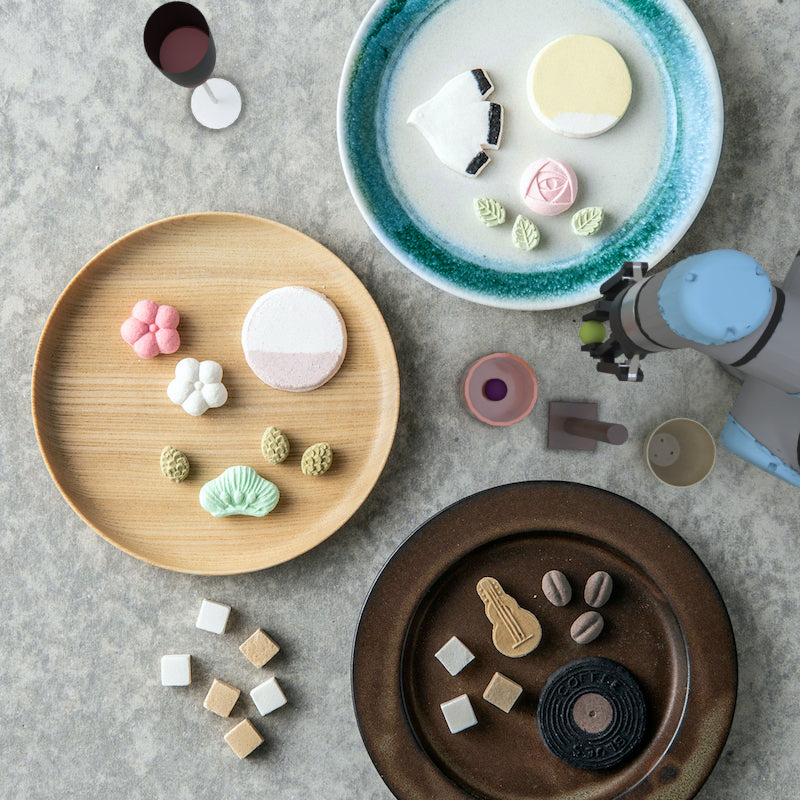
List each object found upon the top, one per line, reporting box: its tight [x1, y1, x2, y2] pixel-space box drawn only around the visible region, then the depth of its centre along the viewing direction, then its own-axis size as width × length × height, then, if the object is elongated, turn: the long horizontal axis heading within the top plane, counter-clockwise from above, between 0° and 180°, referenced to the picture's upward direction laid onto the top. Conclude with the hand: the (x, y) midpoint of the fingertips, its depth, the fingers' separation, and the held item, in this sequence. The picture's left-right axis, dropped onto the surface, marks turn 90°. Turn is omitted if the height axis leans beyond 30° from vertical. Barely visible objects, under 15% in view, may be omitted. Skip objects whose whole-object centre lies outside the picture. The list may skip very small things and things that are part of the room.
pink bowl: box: [458, 352, 539, 427], centre depth 104 cm, size 10×10×8 cm
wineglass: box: [142, 0, 243, 130], centre depth 96 cm, size 8×9×20 cm
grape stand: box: [546, 401, 629, 451], centre depth 97 cm, size 7×7×22 cm
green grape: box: [578, 320, 607, 345], centre depth 93 cm, size 3×3×3 cm
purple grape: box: [484, 378, 508, 401], centre depth 105 cm, size 3×3×3 cm
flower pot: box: [642, 417, 717, 489], centre depth 105 cm, size 10×10×7 cm
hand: (591, 334), depth 95 cm, fingers closed on green grape, 3 cm apart
